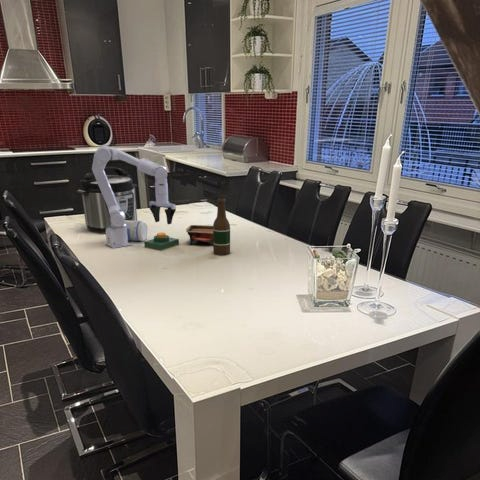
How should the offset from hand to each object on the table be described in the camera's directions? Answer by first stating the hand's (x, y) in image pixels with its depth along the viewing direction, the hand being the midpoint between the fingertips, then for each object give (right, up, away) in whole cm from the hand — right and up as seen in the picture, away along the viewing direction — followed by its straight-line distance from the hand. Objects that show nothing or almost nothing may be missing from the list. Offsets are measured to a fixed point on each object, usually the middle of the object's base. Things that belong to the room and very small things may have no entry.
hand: (163, 222), depth 220 cm
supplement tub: (-10, -3, +6) cm, 12 cm away
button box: (-1, -11, 0) cm, 11 cm away
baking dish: (+19, -9, +6) cm, 22 cm away
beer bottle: (+28, -16, -10) cm, 33 cm away
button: (-1, -7, -2) cm, 7 cm away
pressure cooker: (-32, +3, +30) cm, 44 cm away
